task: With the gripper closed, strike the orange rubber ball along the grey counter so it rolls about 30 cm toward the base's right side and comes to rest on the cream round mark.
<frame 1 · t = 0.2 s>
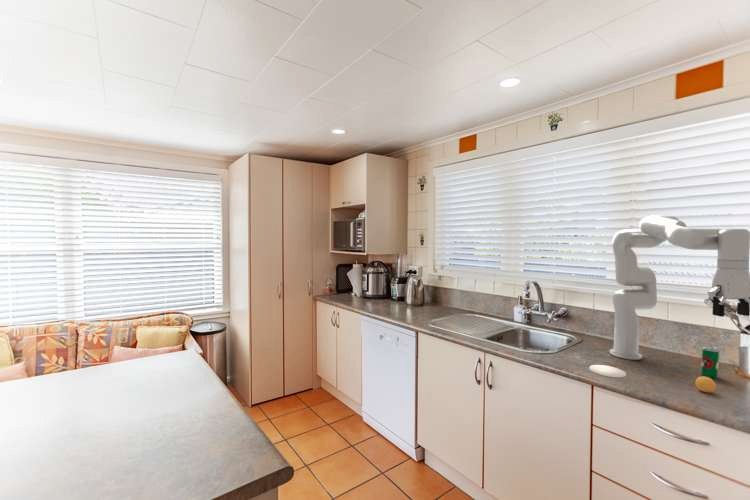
hand: (730, 315, 118), 30 cm above the table, tool pointing down, fingers open, 9 cm apart
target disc: (607, 371, 145), on the table
soda can: (709, 376, 141), on the table
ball: (705, 384, 127), on the table
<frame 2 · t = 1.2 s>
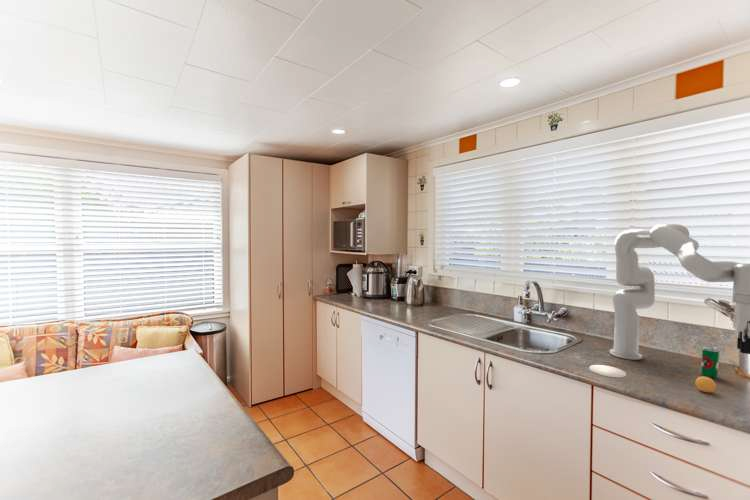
hand: (745, 350, 120), 17 cm above the table, tool pointing down, fingers open, 4 cm apart
nothing on the table moved.
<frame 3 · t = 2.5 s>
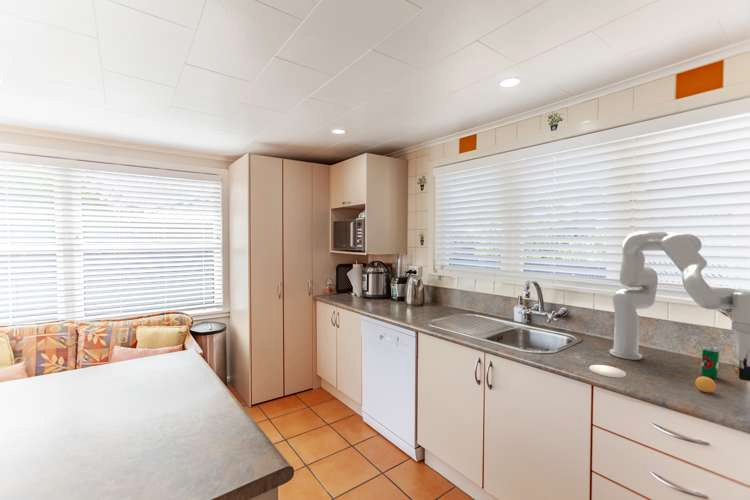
hand: (745, 379, 120), 7 cm above the table, tool pointing down, fingers closed
nothing on the table moved.
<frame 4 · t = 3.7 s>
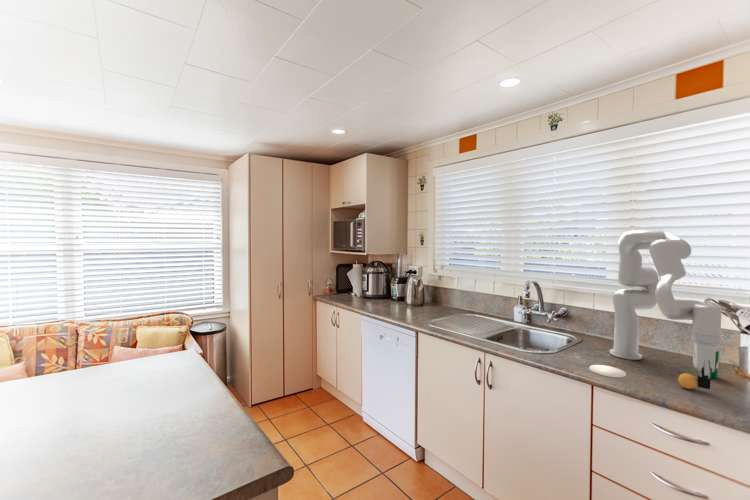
hand: (703, 387, 127), 2 cm above the table, tool pointing down, fingers closed
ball: (687, 381, 129), on the table
everything else where it was.
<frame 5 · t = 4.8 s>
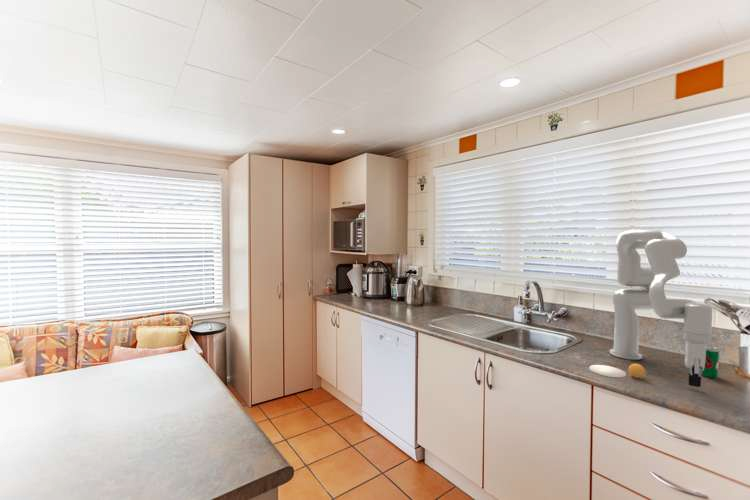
hand: (694, 385, 129), 2 cm above the table, tool pointing down, fingers closed
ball: (636, 370, 139), on the table
everything else where it was.
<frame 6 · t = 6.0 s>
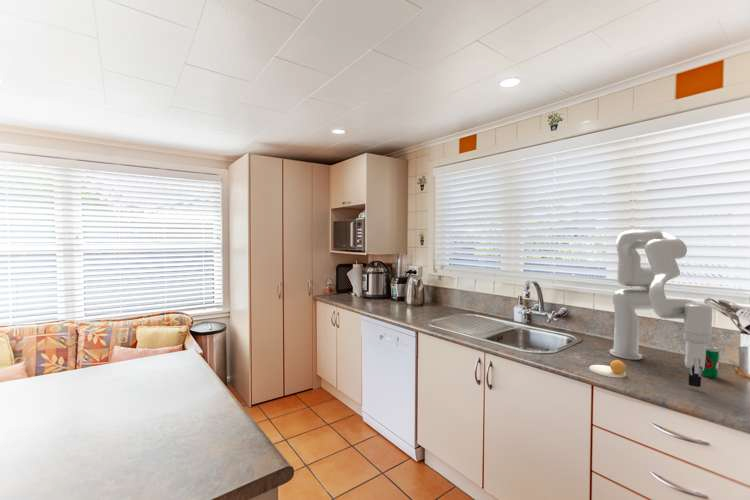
hand: (694, 385, 129), 2 cm above the table, tool pointing down, fingers closed
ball: (618, 367, 143), on the table
everything else where it was.
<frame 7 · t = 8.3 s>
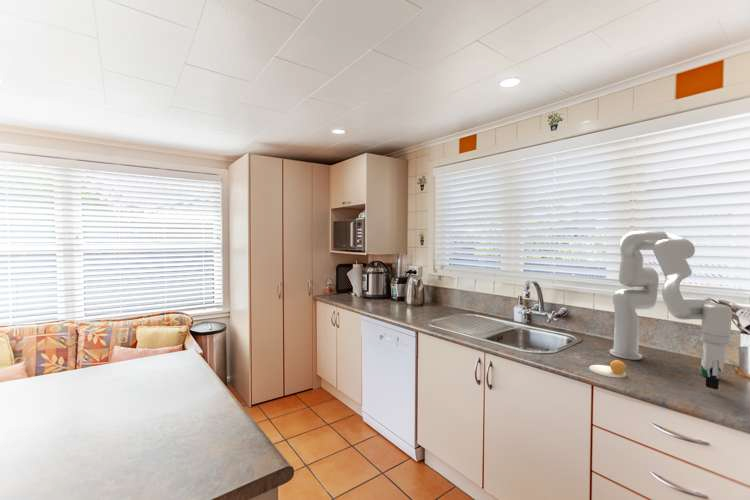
hand: (711, 387, 126), 2 cm above the table, tool pointing down, fingers closed
nothing on the table moved.
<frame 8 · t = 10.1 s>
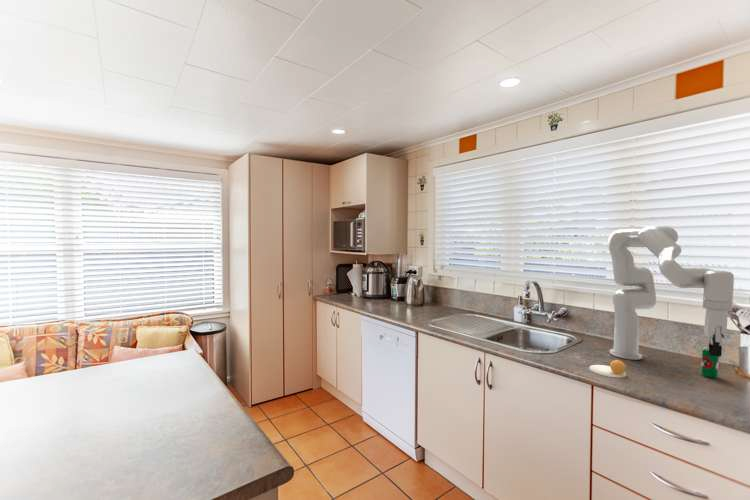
hand: (714, 355, 125), 14 cm above the table, tool pointing down, fingers closed
nothing on the table moved.
at the end: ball 3.7 cm from the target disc (horizontally); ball at rest at the end (0.0 cm/s); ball moved 26.3 cm from its start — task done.
